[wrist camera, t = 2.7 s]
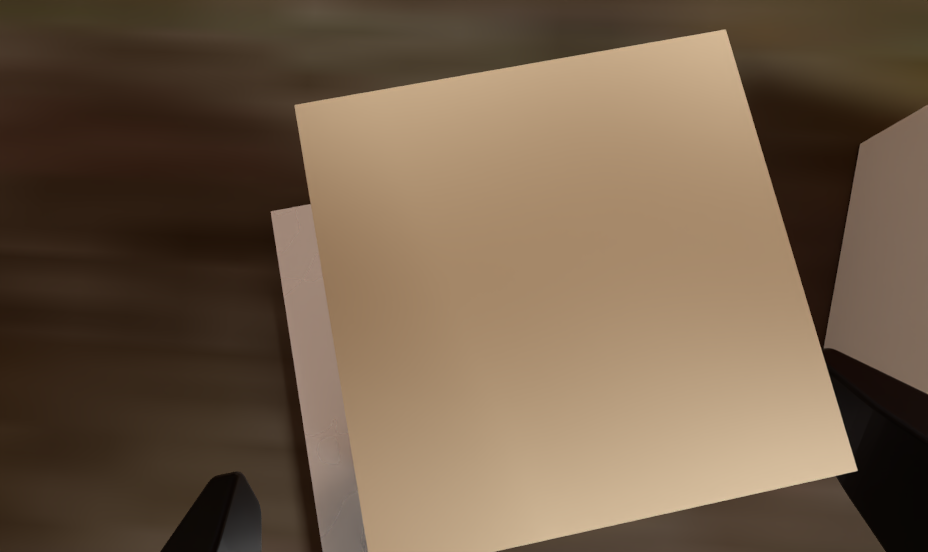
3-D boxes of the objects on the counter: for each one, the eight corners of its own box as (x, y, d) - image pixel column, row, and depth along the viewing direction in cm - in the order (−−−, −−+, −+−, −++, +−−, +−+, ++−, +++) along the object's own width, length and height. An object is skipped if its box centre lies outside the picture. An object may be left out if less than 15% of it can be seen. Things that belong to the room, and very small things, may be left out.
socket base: (697, 498, 18) (761, 529, 14) (333, 578, 18) (302, 632, 14) (610, 156, 20) (646, 104, 16) (277, 218, 19) (236, 179, 16)
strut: (566, 409, 18) (873, 479, 5) (425, 439, 17) (361, 593, 5) (535, 271, 18) (732, 18, 6) (399, 297, 18) (281, 97, 5)
